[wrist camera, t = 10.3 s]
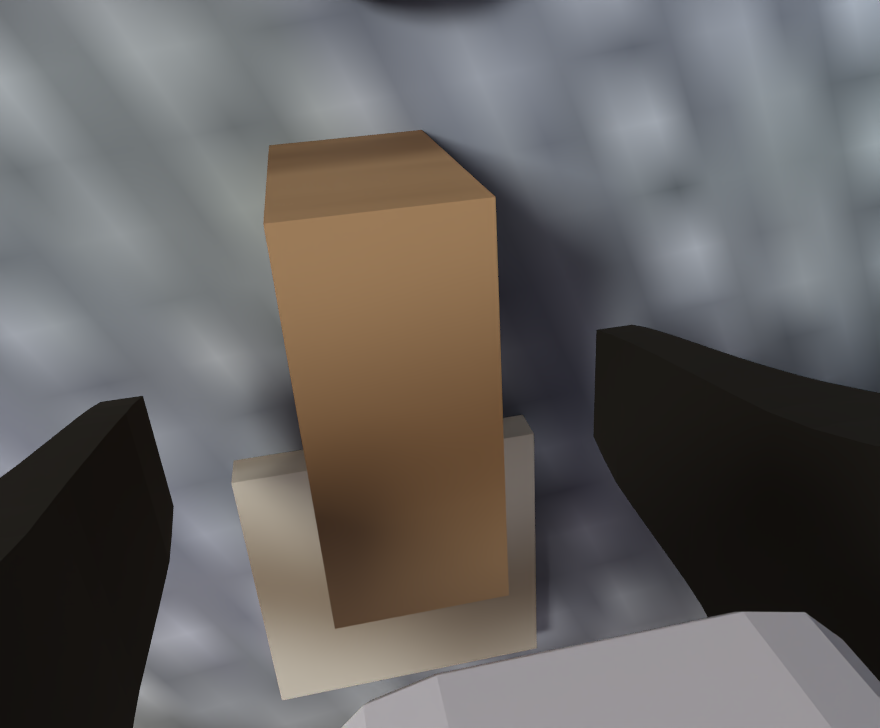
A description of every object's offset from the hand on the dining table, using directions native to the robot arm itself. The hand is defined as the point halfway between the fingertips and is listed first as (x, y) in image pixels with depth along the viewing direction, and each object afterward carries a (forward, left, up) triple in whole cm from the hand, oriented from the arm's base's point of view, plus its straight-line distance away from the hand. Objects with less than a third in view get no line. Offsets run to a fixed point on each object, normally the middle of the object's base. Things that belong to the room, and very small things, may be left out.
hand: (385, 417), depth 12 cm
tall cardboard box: (0, -2, -3) cm, 4 cm away
